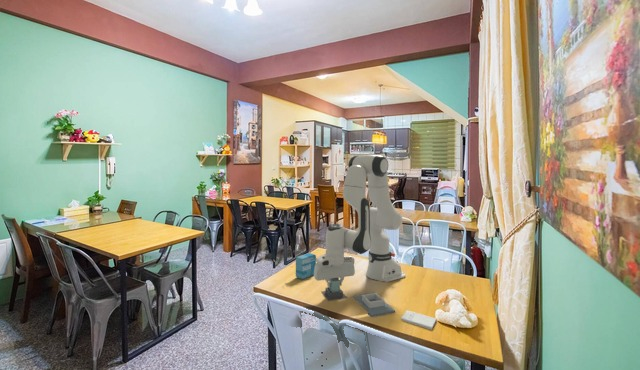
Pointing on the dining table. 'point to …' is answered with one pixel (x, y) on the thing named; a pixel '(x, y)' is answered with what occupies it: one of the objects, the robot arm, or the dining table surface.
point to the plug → (334, 285)
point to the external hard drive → (419, 319)
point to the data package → (305, 265)
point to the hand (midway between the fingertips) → (334, 286)
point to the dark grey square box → (333, 295)
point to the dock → (374, 304)
